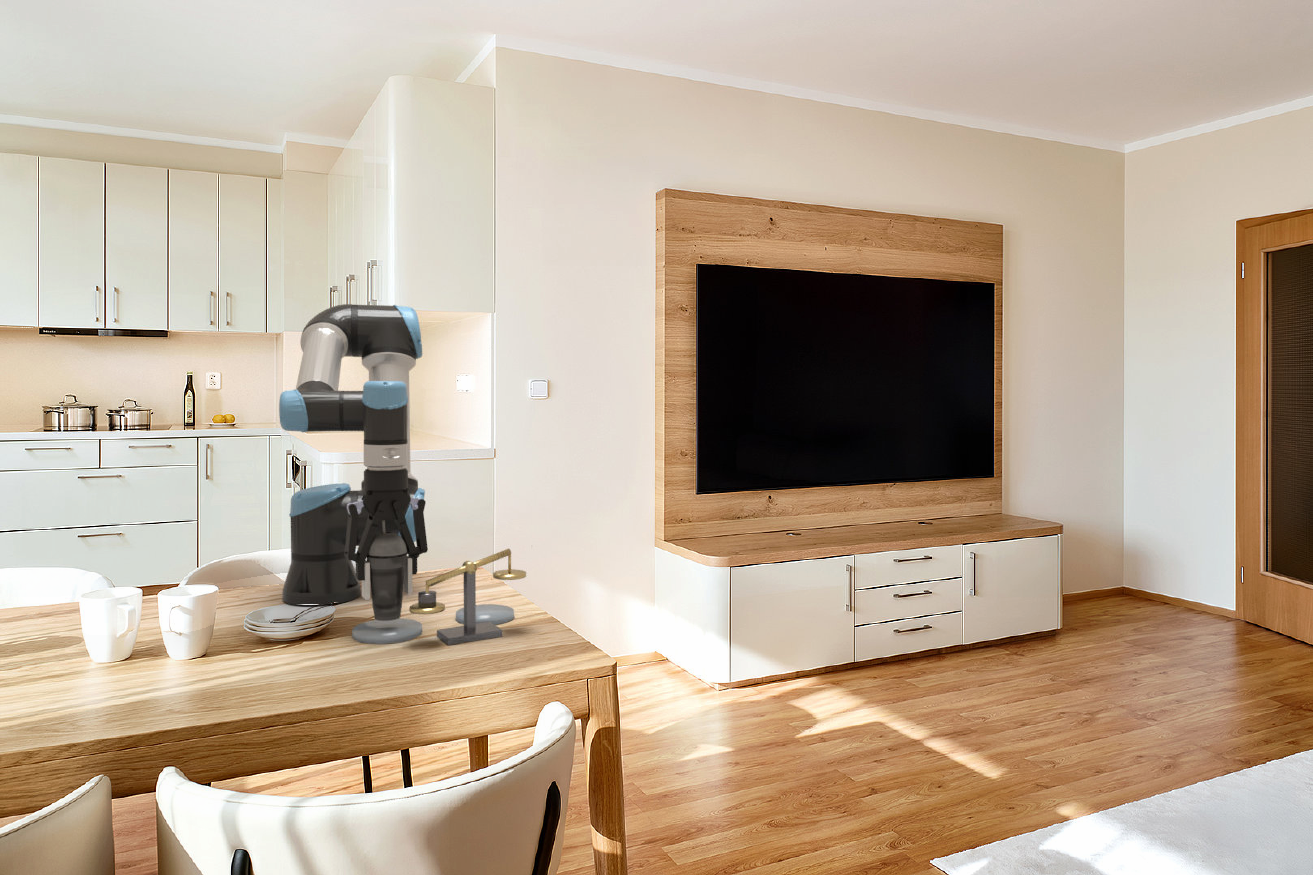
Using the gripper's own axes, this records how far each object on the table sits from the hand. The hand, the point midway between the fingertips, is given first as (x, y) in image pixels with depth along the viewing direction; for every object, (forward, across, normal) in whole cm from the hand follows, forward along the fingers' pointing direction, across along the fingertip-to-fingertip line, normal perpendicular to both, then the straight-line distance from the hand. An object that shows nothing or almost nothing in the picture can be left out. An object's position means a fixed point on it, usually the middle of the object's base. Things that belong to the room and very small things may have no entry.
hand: (387, 595), depth 158 cm
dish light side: (+7, +19, +1) cm, 20 cm away
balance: (+7, +12, -9) cm, 17 cm away
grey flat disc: (+7, 0, 0) cm, 7 cm away
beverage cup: (+4, 0, 0) cm, 4 cm away
